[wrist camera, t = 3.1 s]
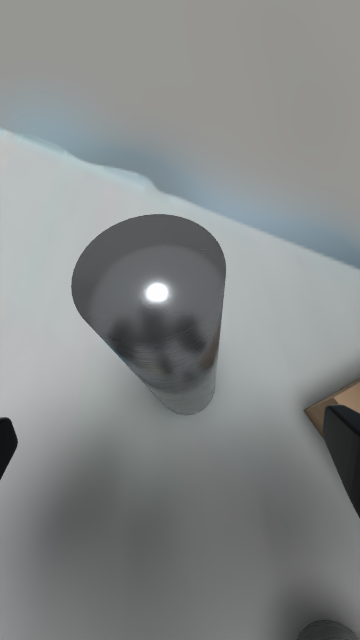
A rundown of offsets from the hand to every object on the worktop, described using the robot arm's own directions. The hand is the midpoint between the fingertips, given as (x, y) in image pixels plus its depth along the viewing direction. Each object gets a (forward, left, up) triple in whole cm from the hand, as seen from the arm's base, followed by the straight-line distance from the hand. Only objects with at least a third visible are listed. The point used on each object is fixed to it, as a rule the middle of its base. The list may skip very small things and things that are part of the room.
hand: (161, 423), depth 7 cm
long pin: (+1, +3, -10) cm, 11 cm away
